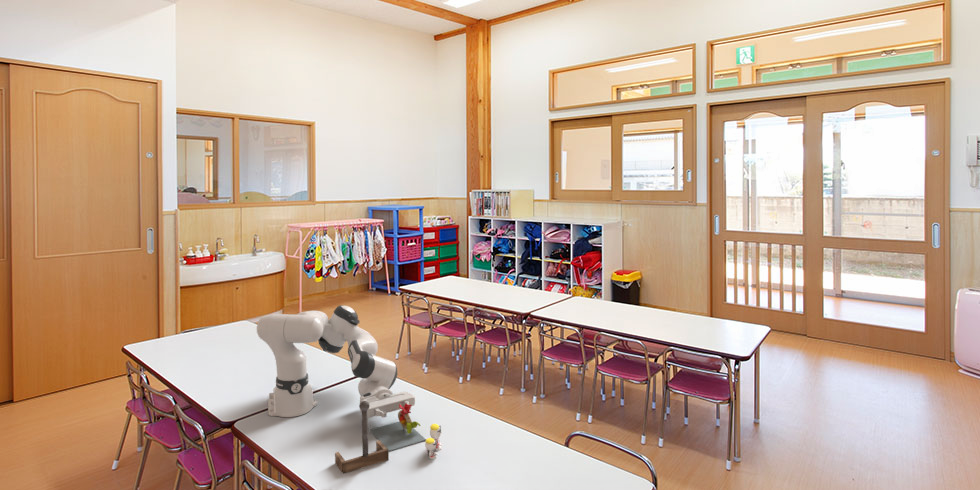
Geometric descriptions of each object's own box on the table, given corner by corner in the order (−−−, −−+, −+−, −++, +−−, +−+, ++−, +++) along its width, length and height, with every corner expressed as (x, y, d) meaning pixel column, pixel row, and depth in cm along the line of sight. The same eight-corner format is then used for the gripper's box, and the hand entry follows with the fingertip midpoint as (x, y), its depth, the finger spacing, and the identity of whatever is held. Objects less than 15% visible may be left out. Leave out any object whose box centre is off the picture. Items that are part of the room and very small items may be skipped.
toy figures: (436, 460, 177) (436, 437, 176) (423, 459, 178) (423, 436, 176) (444, 442, 189) (444, 420, 188) (432, 441, 189) (432, 419, 188)
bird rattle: (400, 438, 196) (412, 435, 189) (385, 412, 196) (395, 408, 190) (413, 428, 200) (424, 424, 194) (397, 402, 201) (408, 398, 194)
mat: (369, 430, 197) (369, 429, 197) (404, 421, 205) (404, 420, 205) (389, 451, 182) (389, 450, 182) (425, 440, 190) (425, 439, 190)
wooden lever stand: (335, 462, 175) (333, 398, 172) (379, 449, 183) (378, 388, 180) (344, 475, 168) (342, 408, 165) (389, 461, 176) (388, 397, 173)
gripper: (406, 400, 211) (422, 413, 199) (356, 413, 199) (370, 427, 188) (406, 385, 210) (422, 396, 199) (355, 397, 198) (370, 410, 187)
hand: (396, 412), depth 193 cm, fingers open, 8 cm apart
